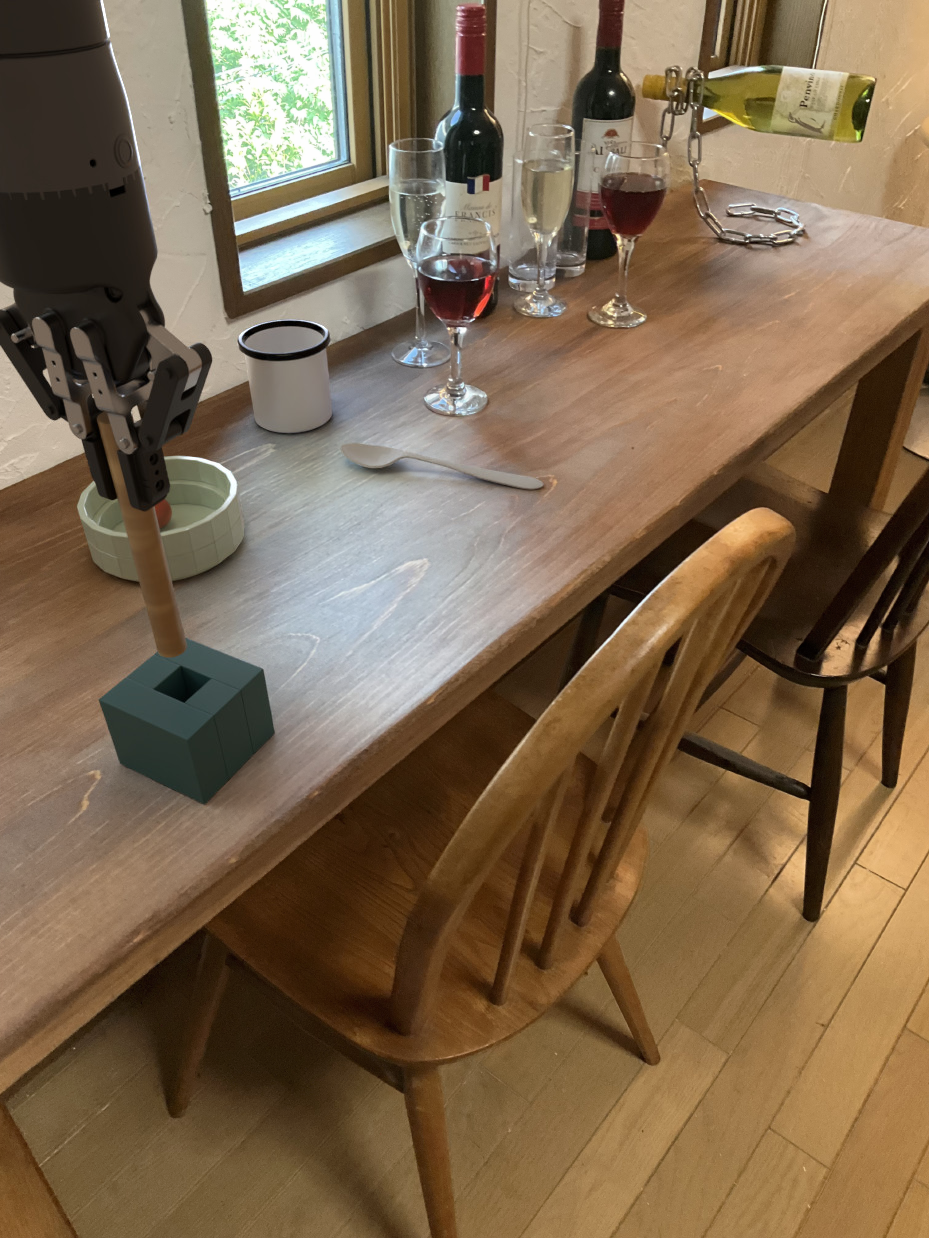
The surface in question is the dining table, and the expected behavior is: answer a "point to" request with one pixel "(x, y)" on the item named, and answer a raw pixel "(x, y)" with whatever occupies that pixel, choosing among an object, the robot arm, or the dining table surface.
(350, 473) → the dining table surface
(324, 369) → the mug
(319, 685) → the dining table surface
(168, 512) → the ball
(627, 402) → the dining table surface
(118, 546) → the bowl
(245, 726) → the holder
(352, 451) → the spoon
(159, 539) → the stick
